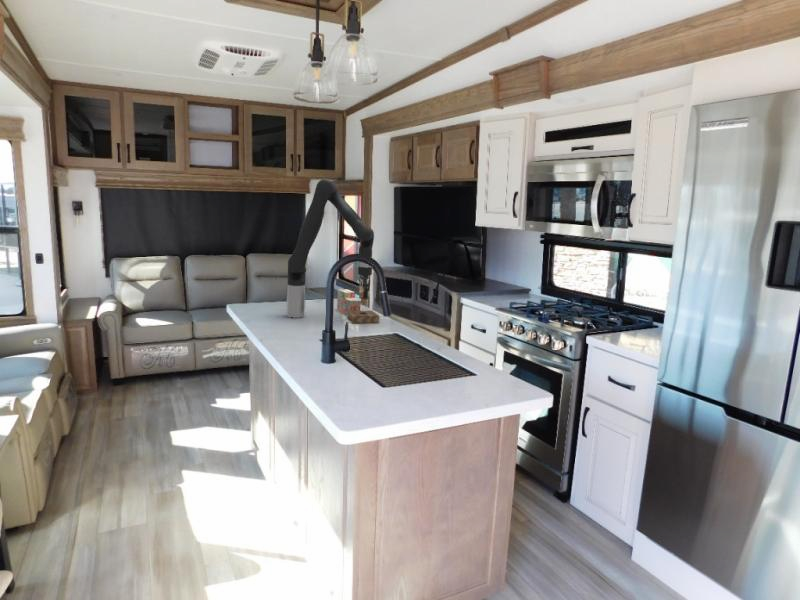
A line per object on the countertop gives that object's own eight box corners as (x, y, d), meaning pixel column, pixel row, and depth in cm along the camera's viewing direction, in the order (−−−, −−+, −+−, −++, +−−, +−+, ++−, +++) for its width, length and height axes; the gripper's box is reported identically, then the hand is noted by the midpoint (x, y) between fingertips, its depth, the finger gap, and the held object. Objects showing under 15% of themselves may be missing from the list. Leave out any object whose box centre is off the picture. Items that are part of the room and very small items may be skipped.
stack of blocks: (360, 316, 302) (361, 295, 300) (349, 317, 299) (350, 295, 297) (347, 309, 321) (347, 288, 319) (336, 309, 318) (337, 289, 316)
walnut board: (352, 323, 284) (353, 316, 283) (347, 318, 297) (347, 310, 296) (378, 323, 288) (379, 315, 287) (372, 317, 301) (372, 310, 300)
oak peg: (360, 305, 288) (360, 286, 286) (357, 303, 293) (358, 285, 291) (370, 305, 289) (370, 286, 288) (367, 303, 294) (368, 285, 293)
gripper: (354, 264, 293) (354, 295, 296) (361, 267, 279) (360, 300, 282) (368, 264, 295) (367, 295, 298) (375, 267, 282) (374, 299, 285)
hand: (364, 297), depth 290 cm, fingers closed on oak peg, 5 cm apart
